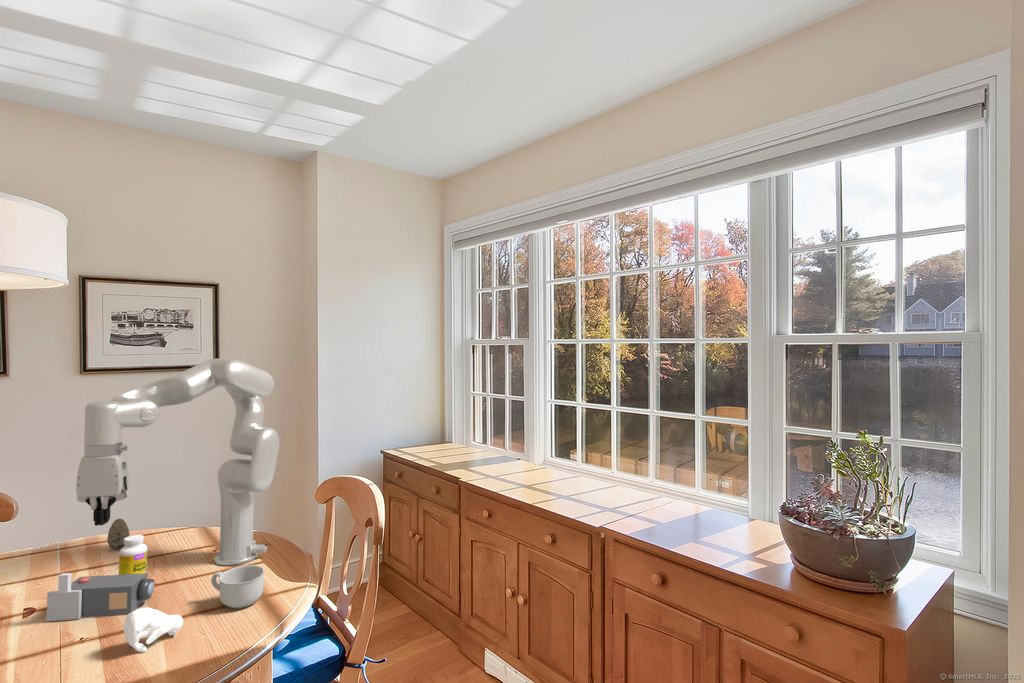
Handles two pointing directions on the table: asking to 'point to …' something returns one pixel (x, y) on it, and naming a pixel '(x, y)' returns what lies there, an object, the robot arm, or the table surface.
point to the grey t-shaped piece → (64, 601)
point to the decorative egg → (117, 534)
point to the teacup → (240, 585)
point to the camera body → (113, 593)
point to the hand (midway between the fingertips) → (101, 523)
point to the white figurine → (149, 626)
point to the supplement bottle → (133, 556)
